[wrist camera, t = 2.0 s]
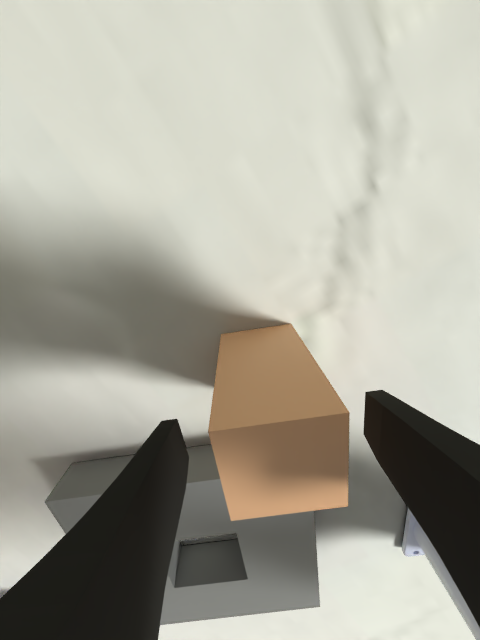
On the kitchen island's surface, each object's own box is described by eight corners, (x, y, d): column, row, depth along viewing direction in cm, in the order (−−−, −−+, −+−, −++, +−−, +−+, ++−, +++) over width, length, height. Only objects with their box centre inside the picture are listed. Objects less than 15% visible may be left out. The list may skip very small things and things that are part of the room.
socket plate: (299, 432, 16) (311, 467, 13) (310, 565, 21) (319, 606, 19) (72, 463, 16) (44, 501, 14) (140, 585, 22) (128, 628, 19)
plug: (291, 323, 13) (349, 412, 6) (295, 382, 14) (348, 506, 8) (221, 334, 13) (208, 431, 7) (232, 391, 14) (230, 520, 8)
